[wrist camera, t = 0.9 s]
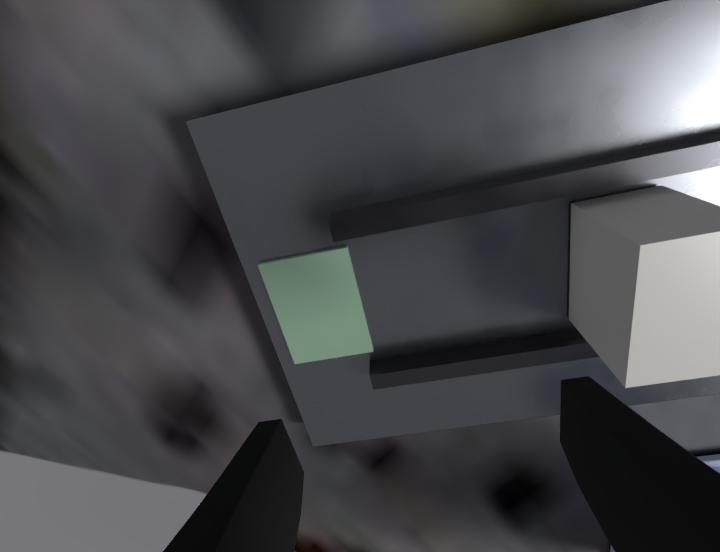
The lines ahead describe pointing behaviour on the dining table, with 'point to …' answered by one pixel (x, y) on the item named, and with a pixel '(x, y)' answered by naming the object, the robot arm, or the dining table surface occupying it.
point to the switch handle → (648, 284)
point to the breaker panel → (459, 215)
